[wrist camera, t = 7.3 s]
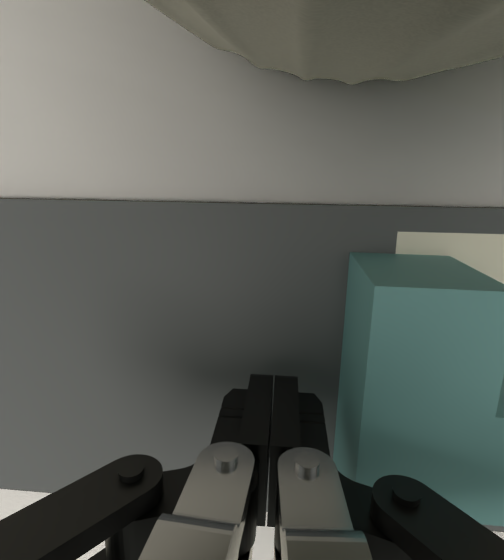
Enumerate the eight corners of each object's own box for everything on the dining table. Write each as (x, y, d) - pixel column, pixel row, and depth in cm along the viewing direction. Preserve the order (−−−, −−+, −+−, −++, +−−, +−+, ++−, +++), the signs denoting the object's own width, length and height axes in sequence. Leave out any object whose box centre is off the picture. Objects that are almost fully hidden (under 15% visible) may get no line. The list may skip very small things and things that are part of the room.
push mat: (-80, 196, 14) (-91, 197, 14) (830, 214, 12) (849, 215, 11) (-27, 478, 17) (-35, 486, 17) (711, 540, 15) (722, 551, 14)
